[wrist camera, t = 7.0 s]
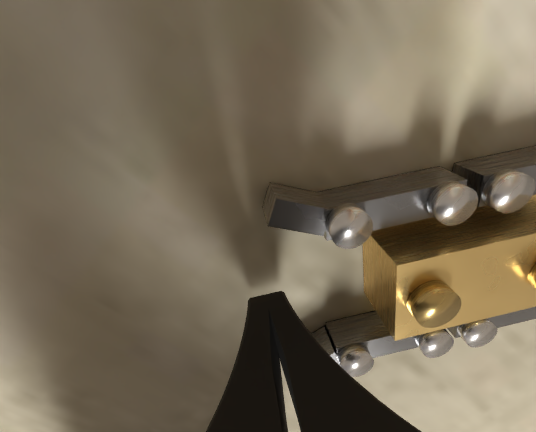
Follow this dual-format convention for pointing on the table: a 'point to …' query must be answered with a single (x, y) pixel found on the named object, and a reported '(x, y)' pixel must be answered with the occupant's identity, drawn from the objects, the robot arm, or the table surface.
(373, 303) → the master link
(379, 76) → the table surface
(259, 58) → the table surface
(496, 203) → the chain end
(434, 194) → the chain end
